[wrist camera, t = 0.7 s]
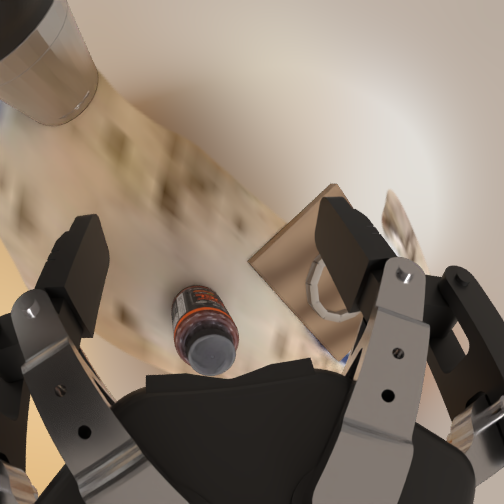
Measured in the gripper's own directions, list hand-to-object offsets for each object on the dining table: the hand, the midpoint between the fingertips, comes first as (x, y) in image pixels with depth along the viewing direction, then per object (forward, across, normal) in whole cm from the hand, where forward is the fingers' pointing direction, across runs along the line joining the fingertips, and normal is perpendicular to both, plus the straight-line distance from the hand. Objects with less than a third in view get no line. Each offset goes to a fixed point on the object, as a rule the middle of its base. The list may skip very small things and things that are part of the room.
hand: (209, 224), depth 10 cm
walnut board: (+16, -16, +21) cm, 31 cm away
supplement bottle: (+14, +2, +21) cm, 25 cm away
